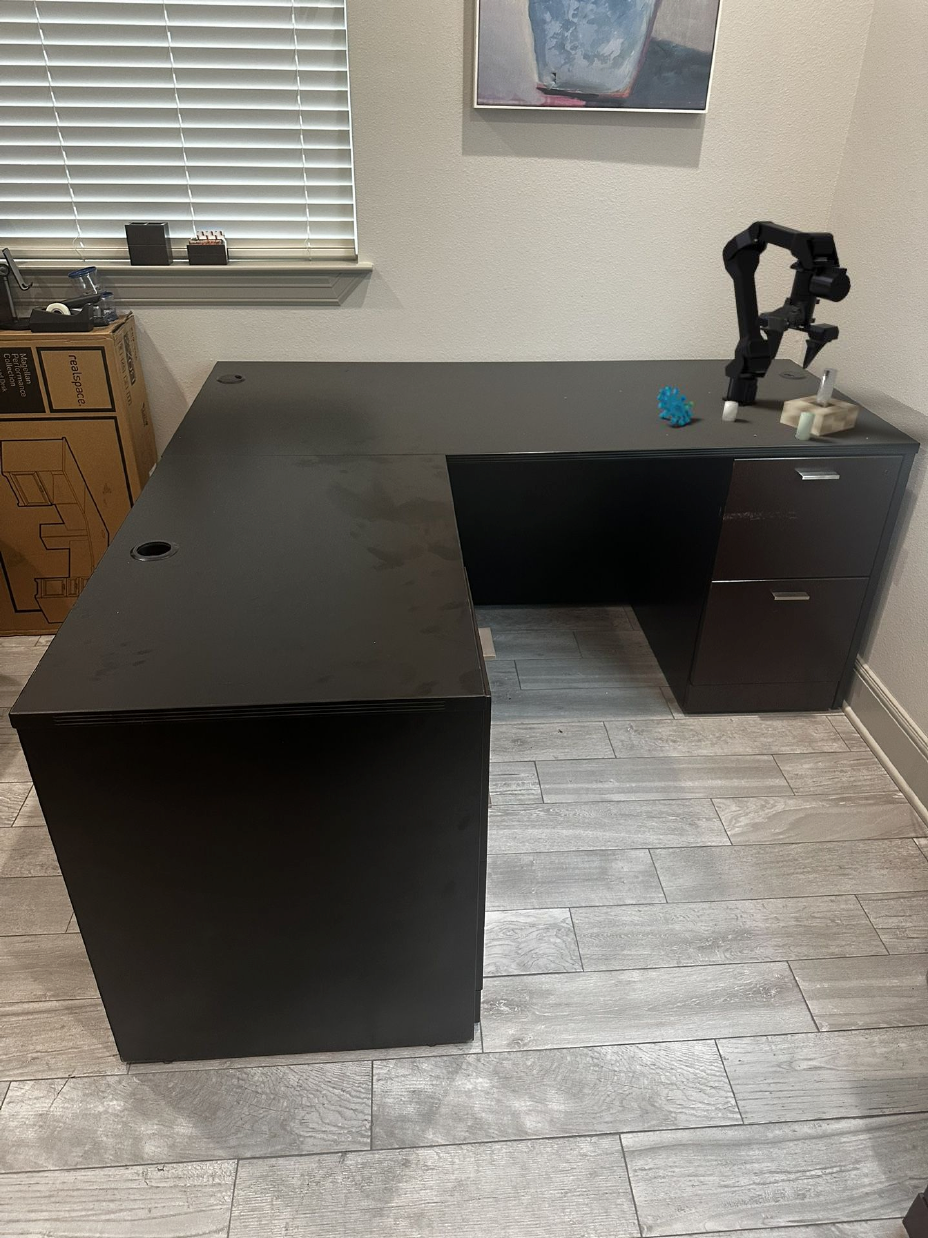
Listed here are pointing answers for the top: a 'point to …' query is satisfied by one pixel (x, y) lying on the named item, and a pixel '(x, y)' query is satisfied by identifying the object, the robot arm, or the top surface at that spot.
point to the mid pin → (805, 426)
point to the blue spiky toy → (674, 406)
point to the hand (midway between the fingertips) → (788, 363)
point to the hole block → (820, 414)
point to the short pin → (730, 411)
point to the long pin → (826, 387)
